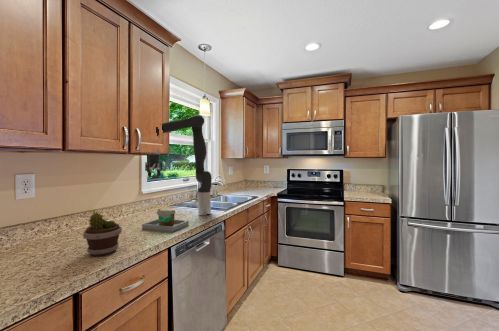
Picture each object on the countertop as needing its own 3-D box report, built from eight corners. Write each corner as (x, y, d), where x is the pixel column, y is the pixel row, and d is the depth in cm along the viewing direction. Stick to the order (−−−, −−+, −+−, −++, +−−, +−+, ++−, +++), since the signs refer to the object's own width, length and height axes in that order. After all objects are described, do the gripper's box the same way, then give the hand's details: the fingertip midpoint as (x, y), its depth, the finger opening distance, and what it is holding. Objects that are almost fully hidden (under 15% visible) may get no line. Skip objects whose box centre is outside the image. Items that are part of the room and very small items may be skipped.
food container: (152, 227, 147) (152, 210, 147) (159, 224, 153) (159, 208, 153) (169, 228, 143) (169, 211, 143) (175, 226, 149) (175, 209, 149)
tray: (160, 222, 160) (160, 218, 160) (188, 225, 152) (188, 220, 152) (142, 229, 145) (142, 224, 145) (172, 232, 137) (172, 227, 137)
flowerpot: (106, 245, 118) (105, 204, 117) (129, 249, 112) (128, 206, 112) (75, 256, 104) (74, 210, 104) (100, 261, 98) (99, 212, 98)
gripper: (150, 153, 160) (151, 177, 160) (165, 153, 174) (165, 176, 174) (141, 153, 163) (142, 177, 163) (156, 154, 176) (157, 176, 176)
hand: (154, 176), depth 168 cm, fingers open, 8 cm apart
